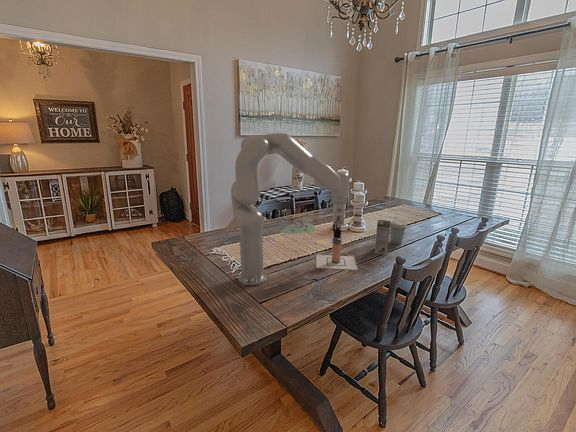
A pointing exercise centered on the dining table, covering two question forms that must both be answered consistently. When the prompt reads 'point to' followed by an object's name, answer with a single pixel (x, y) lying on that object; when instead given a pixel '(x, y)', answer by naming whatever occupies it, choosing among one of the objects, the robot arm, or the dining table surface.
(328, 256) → the paper sheet
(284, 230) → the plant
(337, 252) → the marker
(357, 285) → the dining table surface
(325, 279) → the dining table surface
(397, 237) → the coffee cup
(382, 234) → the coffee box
